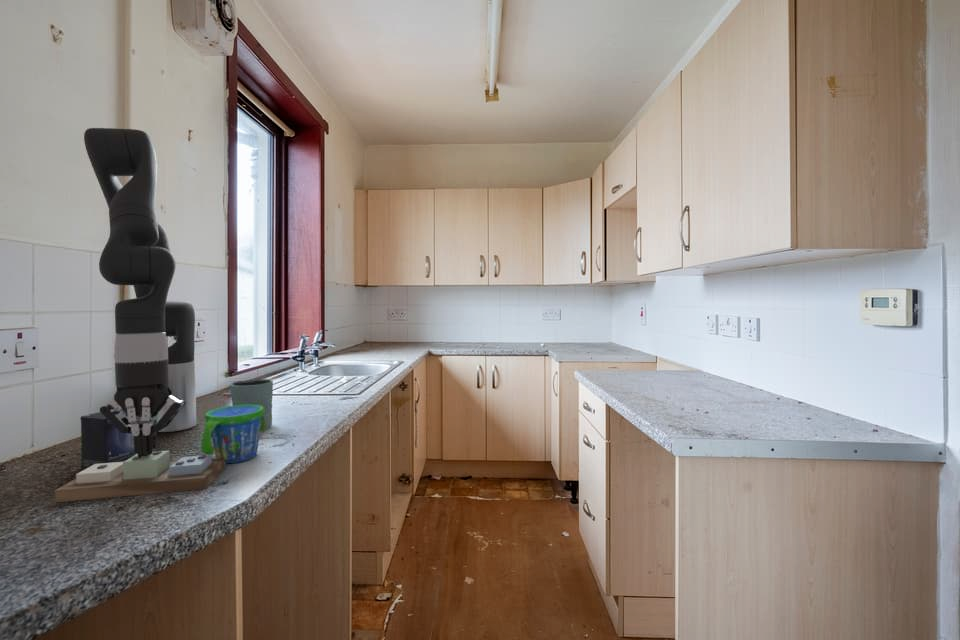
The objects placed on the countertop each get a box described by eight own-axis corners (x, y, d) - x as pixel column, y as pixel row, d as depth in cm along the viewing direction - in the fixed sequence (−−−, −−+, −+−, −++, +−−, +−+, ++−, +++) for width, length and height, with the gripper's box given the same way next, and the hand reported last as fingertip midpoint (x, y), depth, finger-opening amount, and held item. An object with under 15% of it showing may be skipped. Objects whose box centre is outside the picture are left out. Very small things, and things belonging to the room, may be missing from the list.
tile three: (182, 475, 82) (181, 455, 82) (212, 473, 83) (211, 453, 83) (169, 486, 77) (169, 465, 77) (201, 483, 78) (200, 462, 78)
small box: (106, 471, 85) (104, 418, 85) (79, 469, 86) (77, 416, 86) (156, 453, 95) (154, 405, 95) (132, 451, 97) (130, 404, 96)
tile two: (139, 471, 81) (138, 451, 81) (170, 469, 82) (169, 448, 82) (123, 482, 76) (123, 460, 76) (156, 479, 77) (155, 458, 77)
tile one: (95, 483, 79) (94, 462, 79) (127, 480, 80) (126, 459, 80) (76, 494, 74) (75, 472, 74) (110, 491, 75) (110, 469, 75)
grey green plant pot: (263, 432, 110) (261, 385, 109) (222, 433, 110) (220, 385, 109) (280, 422, 120) (279, 378, 119) (243, 422, 120) (242, 378, 119)
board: (94, 478, 81) (94, 468, 81) (225, 467, 86) (225, 457, 86) (55, 502, 72) (55, 490, 72) (205, 488, 76) (204, 477, 76)
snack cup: (224, 475, 83) (222, 421, 82) (182, 469, 86) (180, 417, 85) (284, 448, 97) (283, 403, 97) (247, 444, 101) (245, 400, 100)
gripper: (192, 354, 83) (195, 445, 83) (112, 357, 80) (115, 451, 81) (174, 359, 76) (177, 458, 76) (84, 362, 73) (88, 465, 73)
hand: (145, 454), depth 78 cm, fingers closed
